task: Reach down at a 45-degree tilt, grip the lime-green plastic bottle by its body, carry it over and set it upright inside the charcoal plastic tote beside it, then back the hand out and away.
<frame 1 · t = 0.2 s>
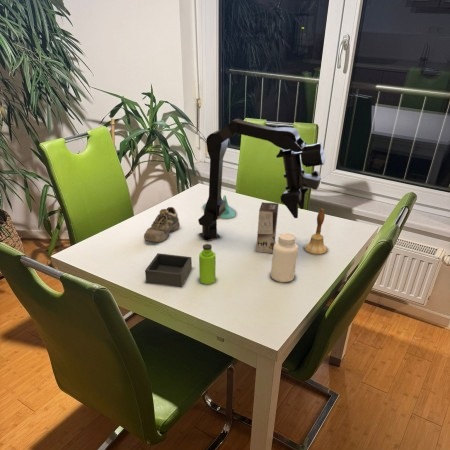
hand: (299, 213, 145), 15 cm above the table, tool pointing down, fingers open, 9 cm apart
hiking shoe: (162, 234, 164), on the table
hand bell: (315, 249, 156), on the table
teal witch hat: (219, 211, 186), on the table
pill bottle: (282, 277, 139), on the table
coffee box: (265, 247, 157), on the table
tote: (169, 275, 138), on the table
green bottle: (207, 279, 136), on the table
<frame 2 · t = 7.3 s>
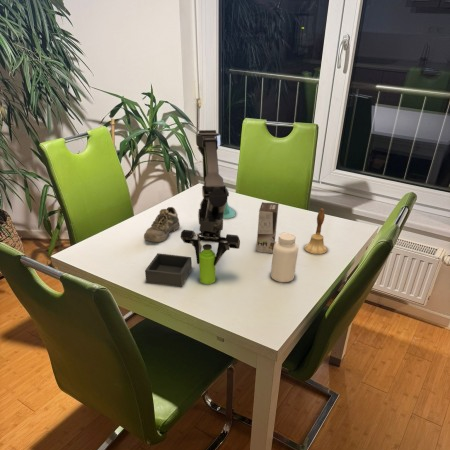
hand: (206, 264, 131), 7 cm above the table, tool tilted 45°, fingers closed on green bottle, 5 cm apart
green bottle: (207, 279, 136), on the table, touching gripper
everything else where it was.
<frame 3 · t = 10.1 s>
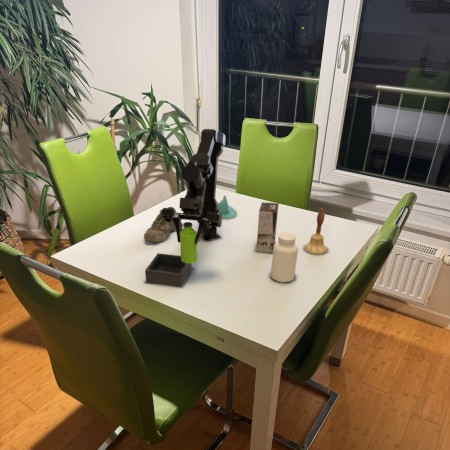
hand: (187, 243, 128), 13 cm above the table, tool tilted 45°, fingers closed on green bottle, 5 cm apart
green bottle: (189, 259, 133), point 7 cm above the table, touching gripper
everything else where it was.
when the fingers open (7 cm above the table, at t = 13.4 s): green bottle stays where it is, resting on tote.
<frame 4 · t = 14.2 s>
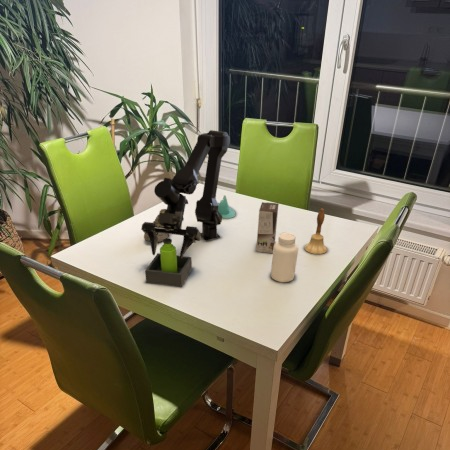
hand: (166, 256, 132), 8 cm above the table, tool tilted 45°, fingers open, 9 cm apart
green bottle: (169, 273, 138), resting on tote
everything else where it was.
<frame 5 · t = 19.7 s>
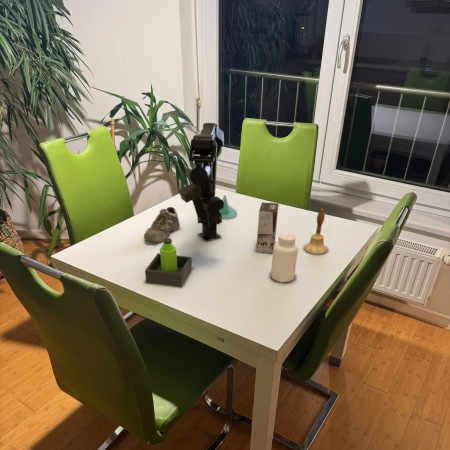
hand: (204, 220, 144), 13 cm above the table, tool pointing down, fingers open, 9 cm apart
nothing on the table moved.
at the end: green bottle 0.0 cm off-centre in the tote, point 0.5 cm above the tote's base; green bottle tilted 0°; the gripper is holding nothing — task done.
